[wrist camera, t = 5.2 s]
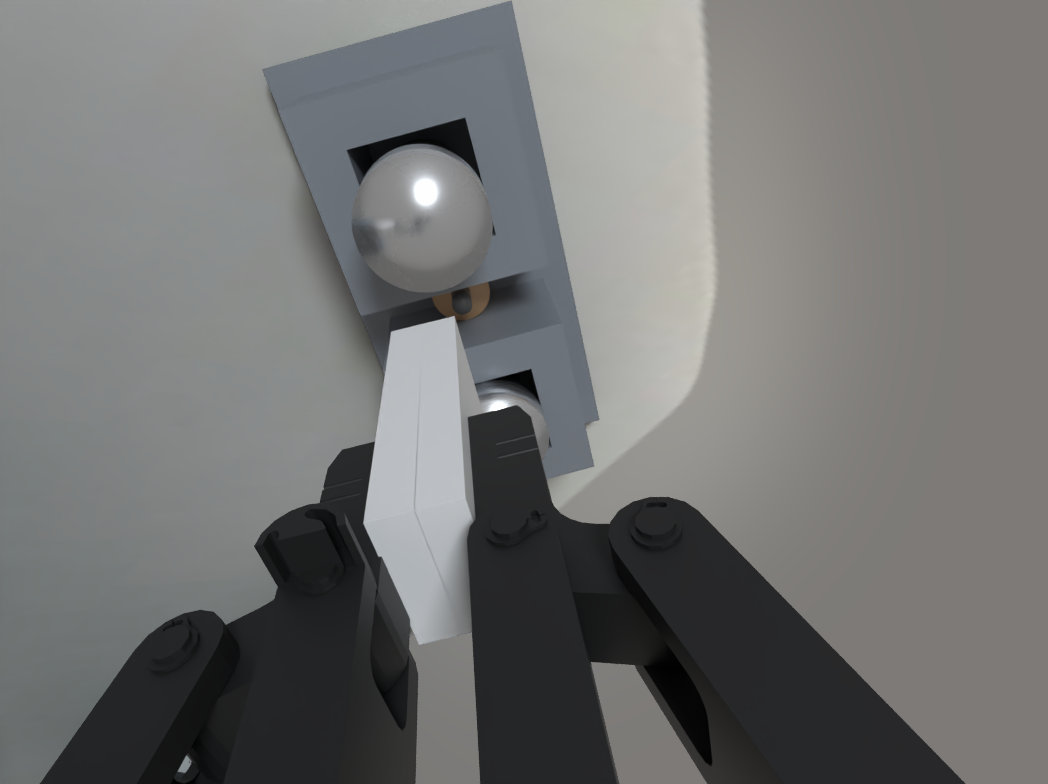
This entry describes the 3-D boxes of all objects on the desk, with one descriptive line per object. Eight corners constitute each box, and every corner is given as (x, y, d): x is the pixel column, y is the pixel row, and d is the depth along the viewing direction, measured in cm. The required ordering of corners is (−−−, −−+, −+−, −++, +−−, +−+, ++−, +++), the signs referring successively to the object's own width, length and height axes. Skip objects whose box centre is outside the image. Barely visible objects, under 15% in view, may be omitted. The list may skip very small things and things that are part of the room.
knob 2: (458, 413, 40) (464, 494, 33) (434, 343, 37) (434, 415, 31) (536, 392, 40) (558, 469, 33) (517, 320, 37) (536, 388, 30)
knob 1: (391, 244, 31) (379, 307, 24) (354, 138, 29) (329, 175, 22) (490, 217, 31) (507, 272, 24) (462, 108, 29) (471, 136, 22)
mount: (422, 453, 44) (420, 534, 37) (269, 67, 31) (223, 80, 24) (594, 407, 43) (624, 480, 36) (508, 1, 31) (529, -5, 24)
